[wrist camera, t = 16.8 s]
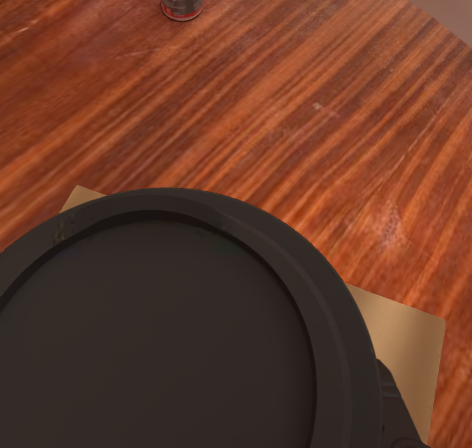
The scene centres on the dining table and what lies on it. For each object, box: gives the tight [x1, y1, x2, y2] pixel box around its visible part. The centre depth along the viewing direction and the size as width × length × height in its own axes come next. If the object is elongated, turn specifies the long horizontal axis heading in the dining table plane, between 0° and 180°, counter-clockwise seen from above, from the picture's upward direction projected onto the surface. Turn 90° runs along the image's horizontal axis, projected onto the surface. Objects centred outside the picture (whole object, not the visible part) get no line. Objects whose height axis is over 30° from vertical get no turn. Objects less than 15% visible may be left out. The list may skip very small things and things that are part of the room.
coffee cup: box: [0, 188, 383, 448], centre depth 13 cm, size 9×9×15 cm
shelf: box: [59, 185, 446, 445], centre depth 24 cm, size 24×16×9 cm, turn 69°
